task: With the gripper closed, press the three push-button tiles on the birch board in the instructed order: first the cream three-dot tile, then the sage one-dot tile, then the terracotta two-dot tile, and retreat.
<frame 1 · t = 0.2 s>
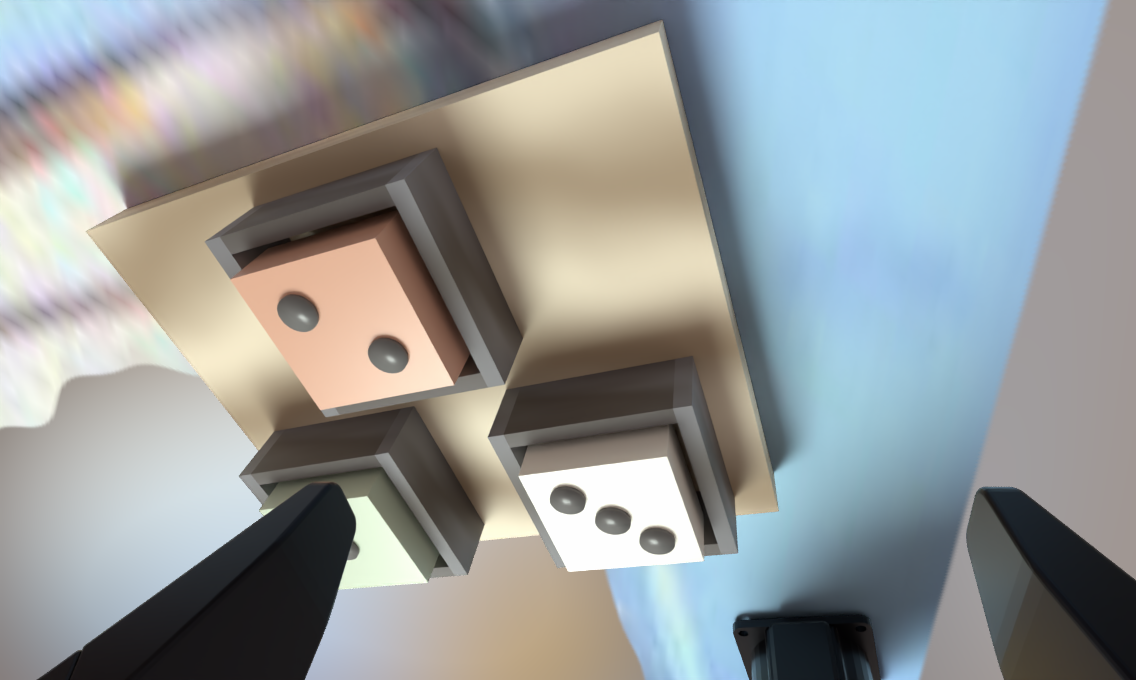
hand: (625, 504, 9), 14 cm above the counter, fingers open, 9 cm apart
tile cream 3: (615, 498, 22), point 5 cm above the counter, slide at 0.0 cm
tile sage 1: (355, 528, 26), point 5 cm above the counter, slide at 0.0 cm
button board: (463, 347, 26), on the counter
tile terracotta 2: (358, 316, 20), point 5 cm above the counter, slide at 0.0 cm
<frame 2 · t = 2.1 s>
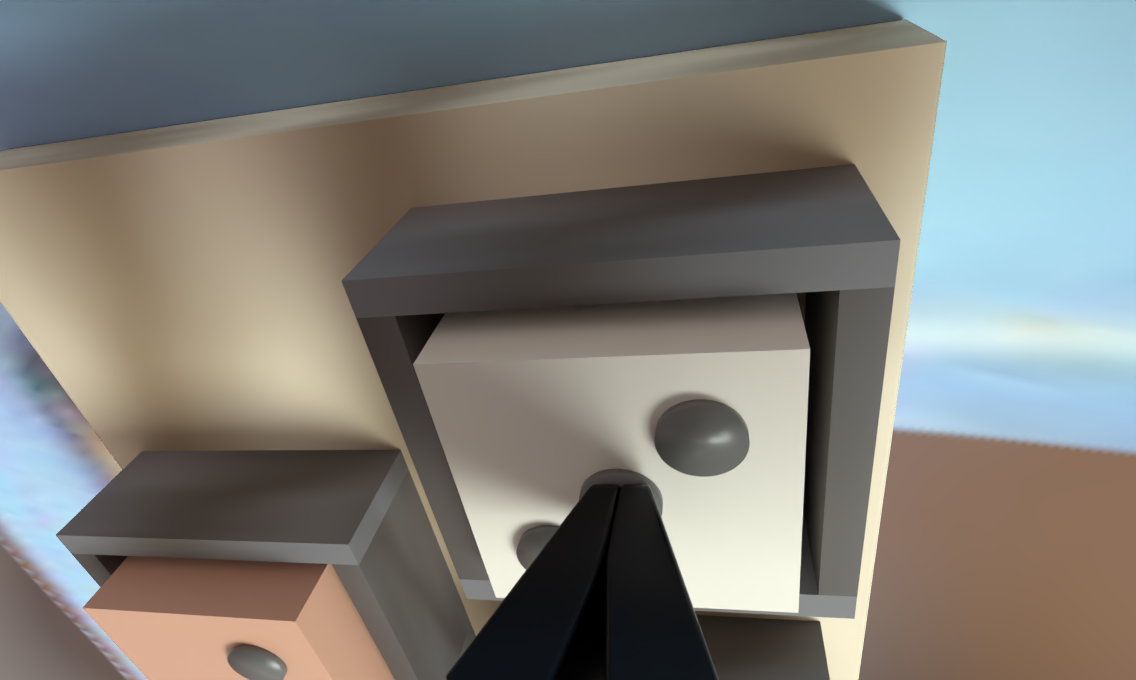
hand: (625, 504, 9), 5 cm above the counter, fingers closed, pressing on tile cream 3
tile cream 3: (627, 454, 10), point 4 cm above the counter, slide at 0.4 cm, touching gripper
button board: (500, 494, 18), on the counter
tile terracotta 2: (262, 644, 15), point 5 cm above the counter, slide at 0.0 cm
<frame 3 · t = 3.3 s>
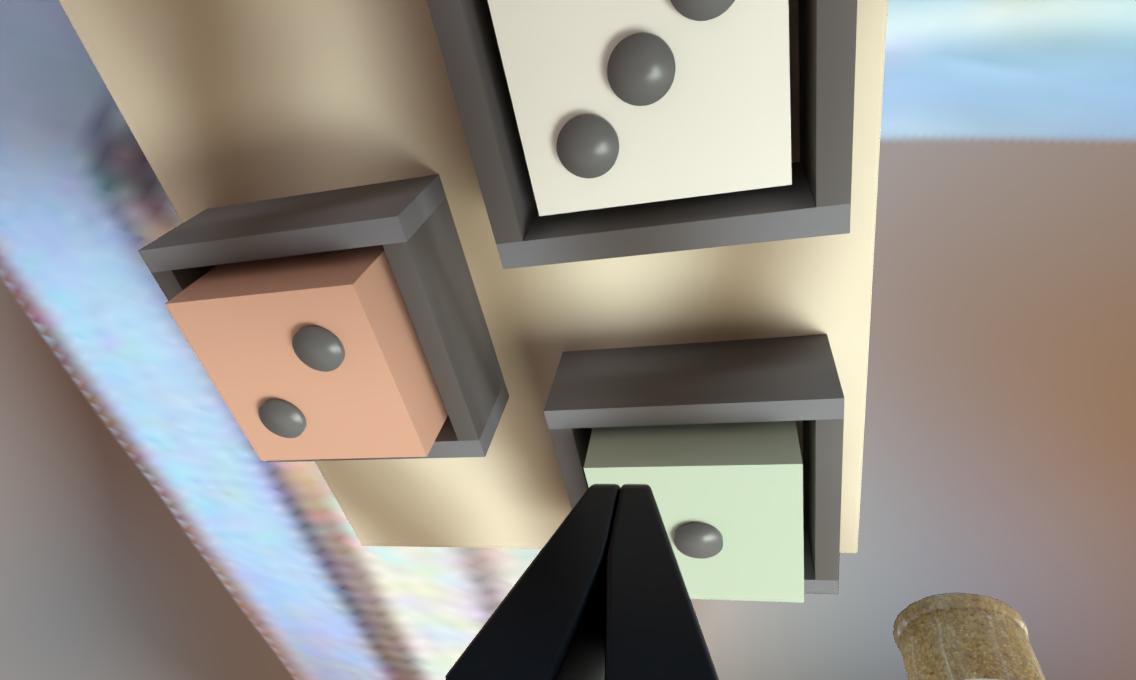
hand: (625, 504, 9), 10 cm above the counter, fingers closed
tile cream 3: (645, 58, 12), point 3 cm above the counter, slide at 1.3 cm
tile sage 1: (698, 509, 17), point 5 cm above the counter, slide at 0.0 cm
sprinkles bottle: (952, 617, 25), on the counter
button board: (528, 260, 19), on the counter
tile terracotta 2: (320, 361, 16), point 5 cm above the counter, slide at 0.0 cm
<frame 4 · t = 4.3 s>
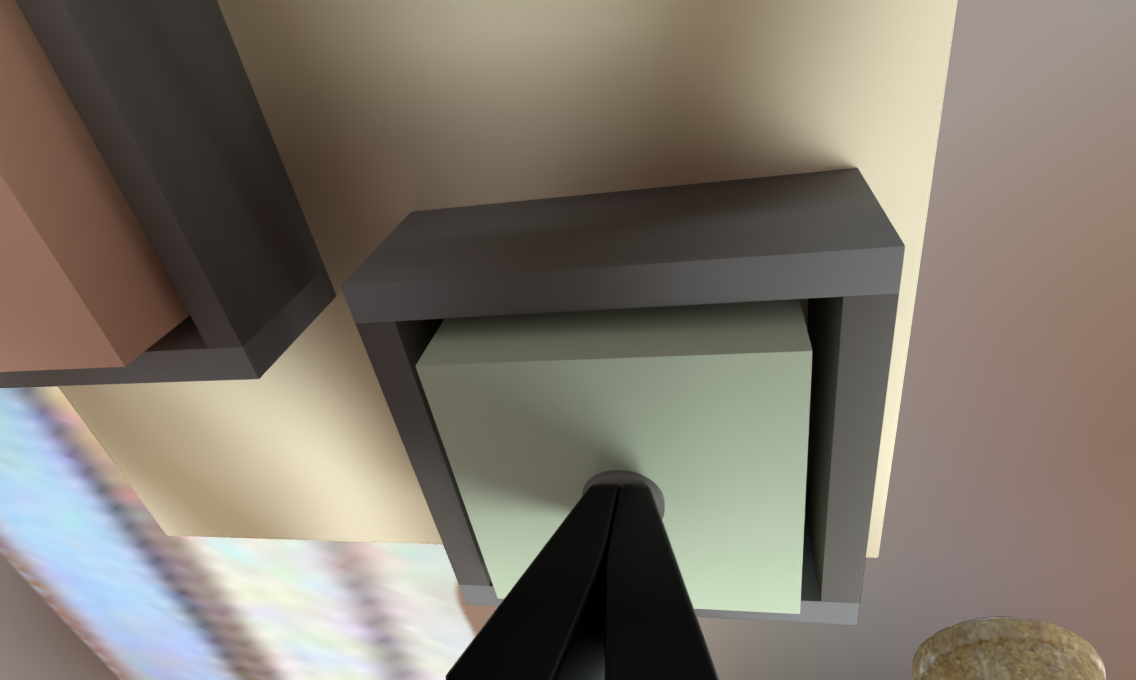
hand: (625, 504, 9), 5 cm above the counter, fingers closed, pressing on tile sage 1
tile sage 1: (628, 455, 10), point 4 cm above the counter, slide at 0.5 cm, touching gripper
sprinkles bottle: (994, 649, 18), on the counter
button board: (368, 70, 12), on the counter
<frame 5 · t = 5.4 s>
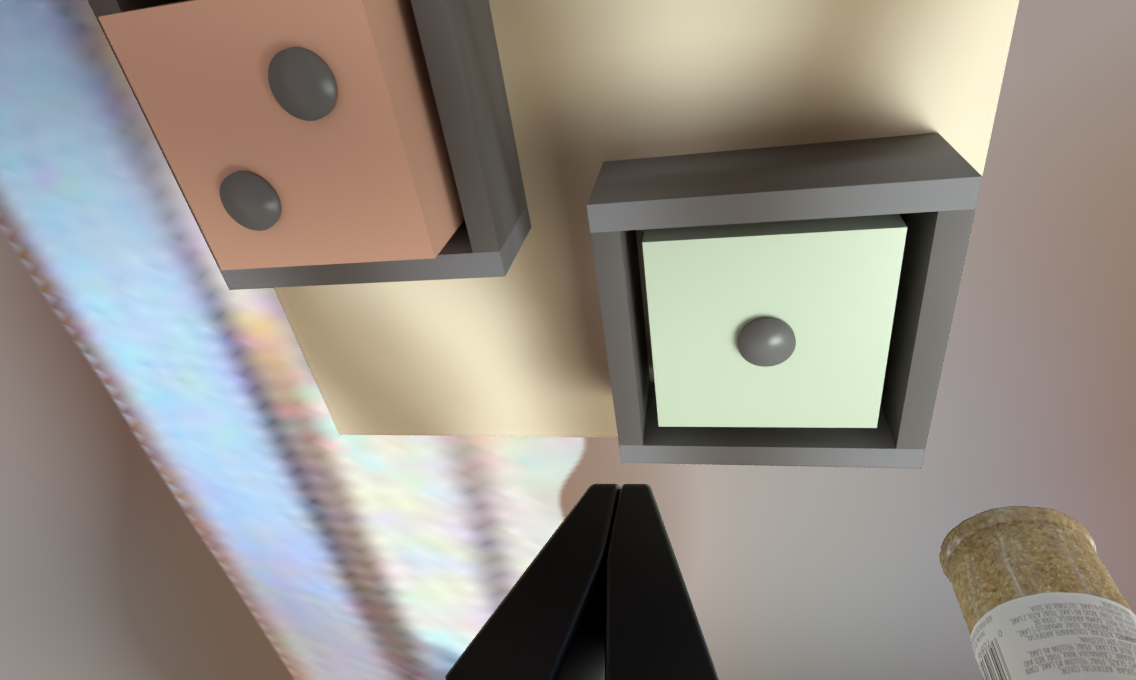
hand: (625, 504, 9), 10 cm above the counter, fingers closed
tile sage 1: (762, 318, 15), point 3 cm above the counter, slide at 1.3 cm
sprinkles bottle: (1007, 539, 22), on the counter
button board: (564, 57, 16), on the counter
tile terracotta 2: (302, 131, 13), point 5 cm above the counter, slide at 0.0 cm
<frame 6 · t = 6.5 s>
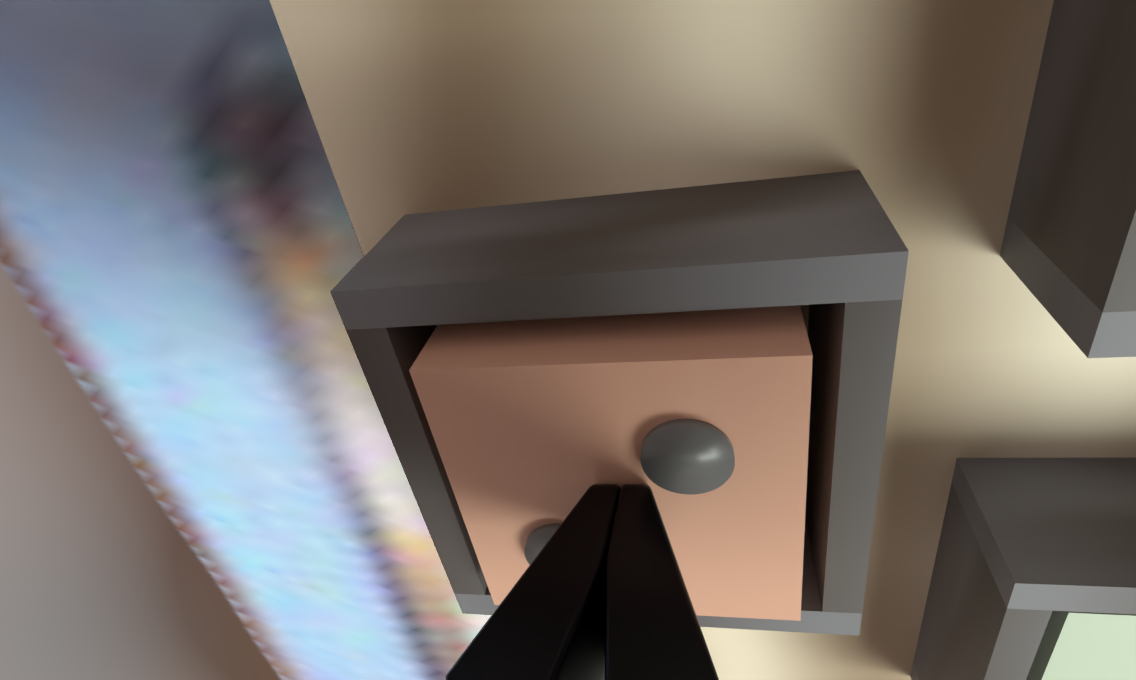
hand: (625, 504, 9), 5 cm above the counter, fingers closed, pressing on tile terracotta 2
button board: (880, 307, 12), on the counter
tile terracotta 2: (626, 460, 10), point 4 cm above the counter, slide at 0.6 cm, touching gripper
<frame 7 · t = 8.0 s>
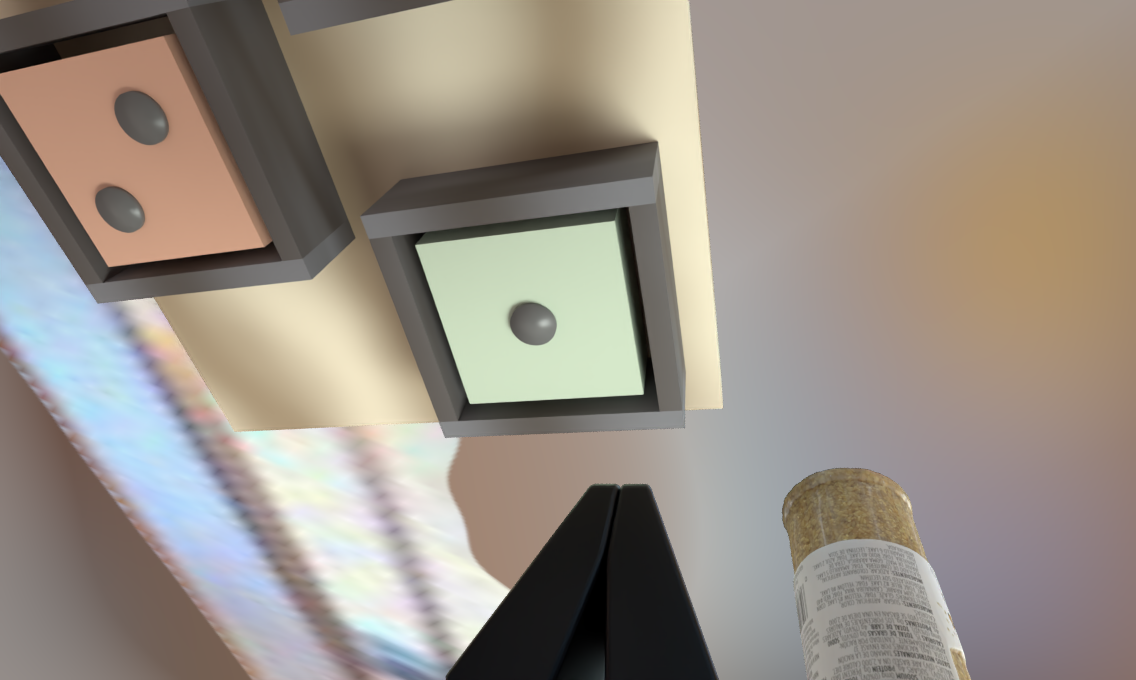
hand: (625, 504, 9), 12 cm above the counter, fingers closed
tile sage 1: (541, 304, 17), point 3 cm above the counter, slide at 1.3 cm
sprinkles bottle: (841, 500, 24), on the counter
button board: (372, 92, 18), on the counter
tile terracotta 2: (158, 153, 16), point 4 cm above the counter, slide at 1.1 cm
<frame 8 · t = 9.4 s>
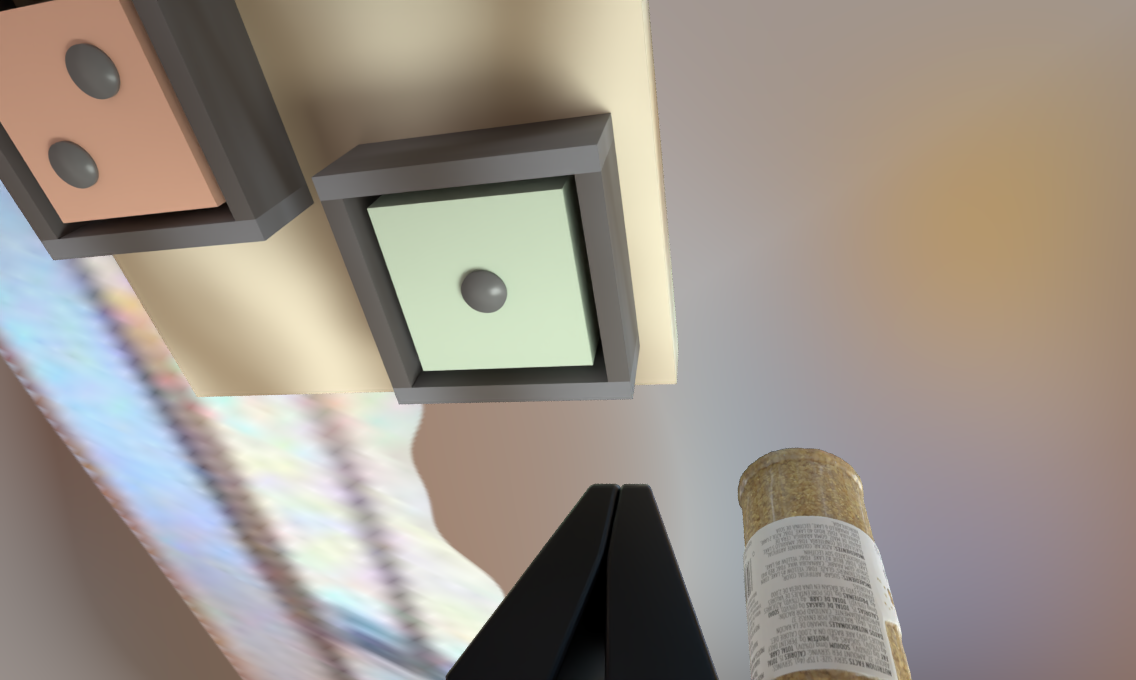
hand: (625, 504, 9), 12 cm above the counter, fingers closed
tile sage 1: (494, 273, 17), point 3 cm above the counter, slide at 1.3 cm
sprinkles bottle: (796, 481, 25), on the counter
button board: (334, 57, 18), on the counter
tile terracotta 2: (113, 110, 16), point 4 cm above the counter, slide at 1.1 cm
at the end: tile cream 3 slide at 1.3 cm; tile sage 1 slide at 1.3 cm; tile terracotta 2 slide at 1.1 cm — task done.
